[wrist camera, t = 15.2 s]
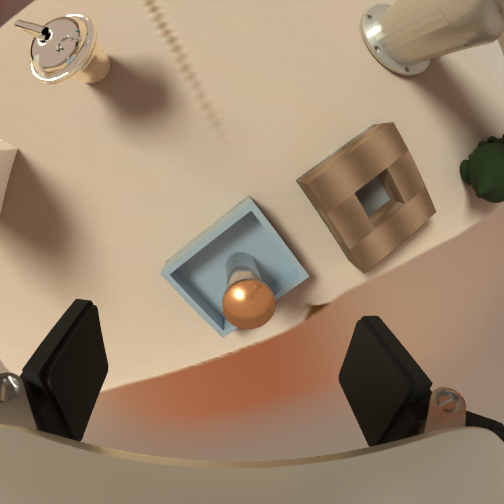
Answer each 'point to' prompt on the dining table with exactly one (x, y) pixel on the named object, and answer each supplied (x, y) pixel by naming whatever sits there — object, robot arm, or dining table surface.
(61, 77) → the cup with straw
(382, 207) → the square wooden block
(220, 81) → the dining table surface
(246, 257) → the copper capped shaker
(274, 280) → the tray
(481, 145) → the toy figurine
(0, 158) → the milk
